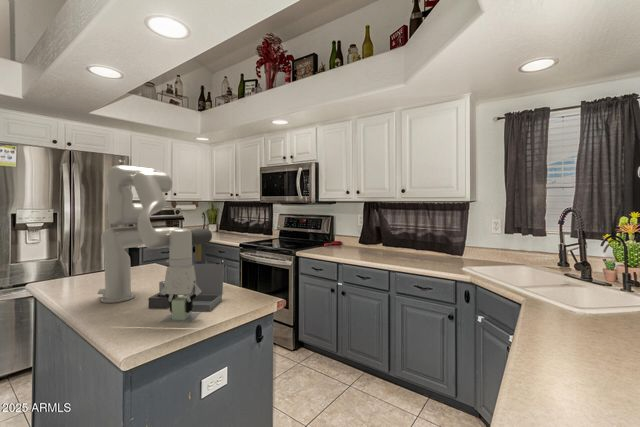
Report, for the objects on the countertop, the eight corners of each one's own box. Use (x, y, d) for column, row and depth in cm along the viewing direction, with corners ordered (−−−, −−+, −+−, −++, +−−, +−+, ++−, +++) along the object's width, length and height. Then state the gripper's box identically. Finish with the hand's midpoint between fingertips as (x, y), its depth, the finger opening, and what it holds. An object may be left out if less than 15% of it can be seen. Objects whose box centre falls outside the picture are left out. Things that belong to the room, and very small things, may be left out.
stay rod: (158, 307, 125) (157, 282, 125) (162, 304, 128) (161, 280, 128) (165, 307, 125) (164, 283, 125) (169, 304, 128) (168, 281, 128)
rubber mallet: (195, 295, 141) (194, 230, 140) (182, 293, 144) (182, 229, 143) (213, 288, 153) (213, 228, 152) (201, 286, 155) (201, 227, 154)
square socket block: (148, 309, 123) (148, 297, 123) (159, 302, 131) (159, 292, 131) (168, 309, 122) (167, 298, 122) (178, 302, 130) (178, 292, 130)
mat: (160, 323, 109) (160, 321, 109) (173, 313, 118) (173, 312, 118) (190, 323, 108) (190, 322, 108) (201, 314, 117) (201, 313, 117)
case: (169, 311, 120) (169, 304, 120) (185, 301, 133) (185, 294, 133) (209, 312, 119) (209, 305, 119) (221, 301, 132) (221, 294, 132)
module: (171, 319, 111) (171, 300, 110) (179, 314, 116) (178, 296, 115) (184, 319, 110) (183, 300, 110) (190, 314, 115) (190, 296, 115)
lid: (187, 263, 134) (188, 263, 135) (185, 294, 133) (186, 294, 133) (223, 264, 134) (224, 264, 135) (221, 294, 132) (222, 294, 133)
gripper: (152, 264, 109) (152, 314, 110) (199, 265, 108) (199, 315, 109) (163, 260, 116) (164, 307, 117) (207, 260, 116) (208, 308, 116)
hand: (181, 310), depth 113 cm, fingers open, 5 cm apart
